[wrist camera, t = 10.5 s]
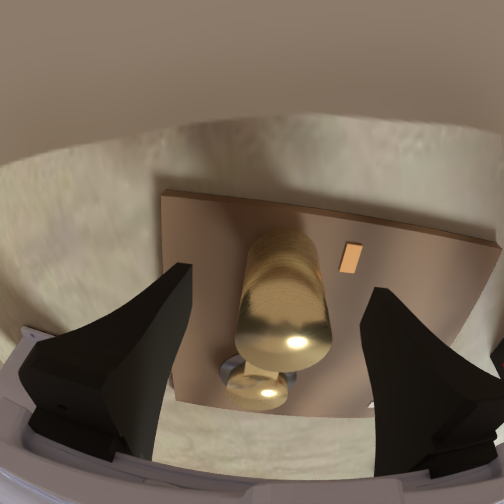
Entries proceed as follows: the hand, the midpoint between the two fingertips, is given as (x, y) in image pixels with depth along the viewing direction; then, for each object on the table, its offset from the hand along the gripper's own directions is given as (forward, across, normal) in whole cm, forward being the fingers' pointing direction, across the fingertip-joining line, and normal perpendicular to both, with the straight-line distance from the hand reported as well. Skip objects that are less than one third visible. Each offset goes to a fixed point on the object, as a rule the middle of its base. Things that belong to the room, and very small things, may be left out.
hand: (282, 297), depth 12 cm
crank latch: (+3, 0, +5) cm, 6 cm away
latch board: (+4, -4, +6) cm, 9 cm away
